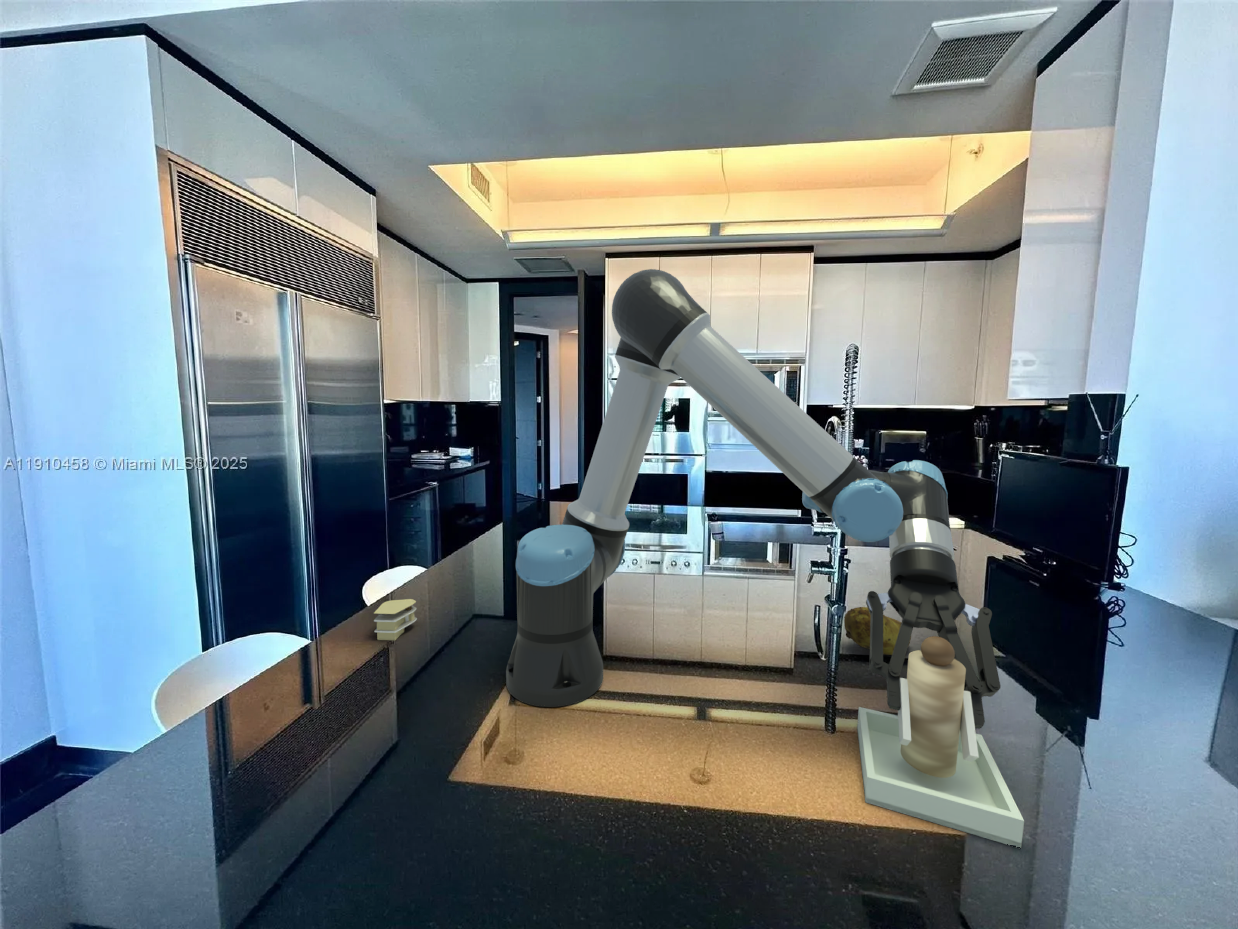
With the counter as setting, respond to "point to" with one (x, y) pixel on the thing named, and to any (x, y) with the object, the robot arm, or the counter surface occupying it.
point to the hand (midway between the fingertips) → (937, 749)
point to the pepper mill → (934, 708)
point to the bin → (936, 784)
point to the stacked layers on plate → (394, 618)
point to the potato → (860, 629)
